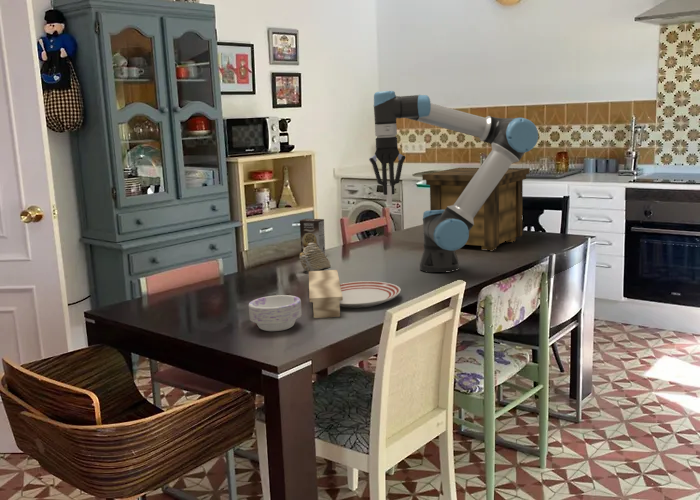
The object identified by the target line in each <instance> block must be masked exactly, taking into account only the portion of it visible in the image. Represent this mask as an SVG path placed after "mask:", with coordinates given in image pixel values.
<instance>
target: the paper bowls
mask: <svg viewBox="0 0 700 500" xmlns="http://www.w3.org/2000/svg"><path fill="white" fill-rule="evenodd" d="M248 313H249V314H248V315H249V320H250V322H252V323H255V324H256V325H257V326H258V328H259V329H260V330H262V331H265V332H280V331H285V330H288V329H290V328H292V327H293V326H294V325H295V324H296V320H298V319H300V318H301V317H302V314H303V313H302V300H301V298H300V297H298V296H295V295H290V294H289V295H287V294H282V295H281V294H279V295H277V294H276V295H268V296H263V297H258V298H256V299H253V300H251V301H249V303H248Z"/></svg>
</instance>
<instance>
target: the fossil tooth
mask: <svg viewBox="0 0 700 500" xmlns="http://www.w3.org/2000/svg"><path fill="white" fill-rule="evenodd" d="M299 262H300V264H301V267H302V269H303V270H304V272H308V273H309V271H321V270H323V269H327V268H330V267H331V262H330V260H329V258H327V256H326V253H325V254H324V253H323V252H322V251H321V249H320V248H319V247H318V246H317V244H316V243H308V246H307V247H305V248H304V250H303V252H302V253H301V252H300V253H299Z"/></svg>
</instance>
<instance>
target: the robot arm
mask: <svg viewBox="0 0 700 500" xmlns="http://www.w3.org/2000/svg"><path fill="white" fill-rule="evenodd" d="M373 112H374V113H373V114H374V133H375V134H374V135H375V137H376V138H375V153H374V155H372V156H371V157H369V158H368V161H369V162H370V163H371V165H372V168H373V172H374V175H375V179H376V182H377V184H378V185H381V186H382V193H383V195H384V196H386V204H387V205H393V195H395V193H396V191H395V185H396V184H399V183H400V181H401V175H402V170H403V169H402V168H403V164H404V162H405V161H406V155H404V154H403V155H402V154H401V153H400V151H399V149H398V137H397V136H398V131H397V130H398V129H397V119H409V120H412V121H415V122H420V123H423V124H426V125H427V124H428V125H431V126H434V127H439V128H441V129H445V130H449V131H454V132H457V133H461V134H465V135H468V136H471V137H472V136H473V137H475V138H479V140H480V141H481V142H484V143H487V144H490V145H491V151H490V152H489V154H488V155H487V156H486V158H485V159H484V161H483V163H482V164H481V165H480V167H478V168H479V169H478V171H477V172H476V174H475V175H474V177H473V178H472V179H471V181H470V182H469V184H468V185H467V186H466V188H465V189H464V191H463V192H462V194H461V195H460V196H459V198H458V199H457V201H456V202H455V204H454V205H451V206H447V208H446V209H445V210H430V209H429V210H424V212H423V213H422V222H423V223H422V225H423V229H422V230H423V233H422V234H423V252H422V255H421V258H420V261H419V271H421V270H423V271H427V272H426V273H428V272H446V271H452V270H456V269H458V268H459V269H460V262H459V259H458V255H457V253H456V251H458V250H461V248H463V247H464V246H465V245H467V244H466V242H467V241H468V238H469V231H470V230H471V228H472V227H473V225H474V221H473V218H474V217H475V215H476V214H477V212H478V211H479V210H480V208H481V207H482V205H483V204H484V202H485V201H486V200H487V198H488V197H489V195H490V194H491V193H492V191H493V190H494V188H495V187H496V186H497V184H498V183H499V181H500V180H501V178H502V177H503V176H504V174H505V173H506V171H507V170H508V169H509V168H511V166H512V164H514V163H519V162H520V161H521V159H522V157H523V156H524V155H525V154H526V153H527V152H530V151H531V150H532V149H534V148H535V146H537V143H538V140H539V133H538V132H539V131H538V127H537V126H536V124H535V123H534V122H532V120H530V119H528V118H526V117H525V118H524V117H515V118H514V117H496V116H491V115H487V116H486V117H483V116H480V115H476V114H472V113H470V112H465V111H461V110H457V109H453V108H451V107H447V106H444V105H439V104H436V103H432V102H431V99H430V96H428V95H427V94H415V95H401V96H400V95H399V96H397V95H396V92H395V90H384V91H383V90H380V91H376V92H374V94H373ZM396 160H398V162H397V167H396V171H395V170H394V169H395V168H394V167H395V166H394V165H395V162H396ZM377 161H379V162H380V163H381V174H380V171H379V167H378V164H377ZM387 164H388V170H387ZM387 171H388V172H387ZM387 173H389V176H388V175H387ZM381 176H382V177H381ZM388 177H389V184H388ZM423 271H422V272H423Z"/></svg>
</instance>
